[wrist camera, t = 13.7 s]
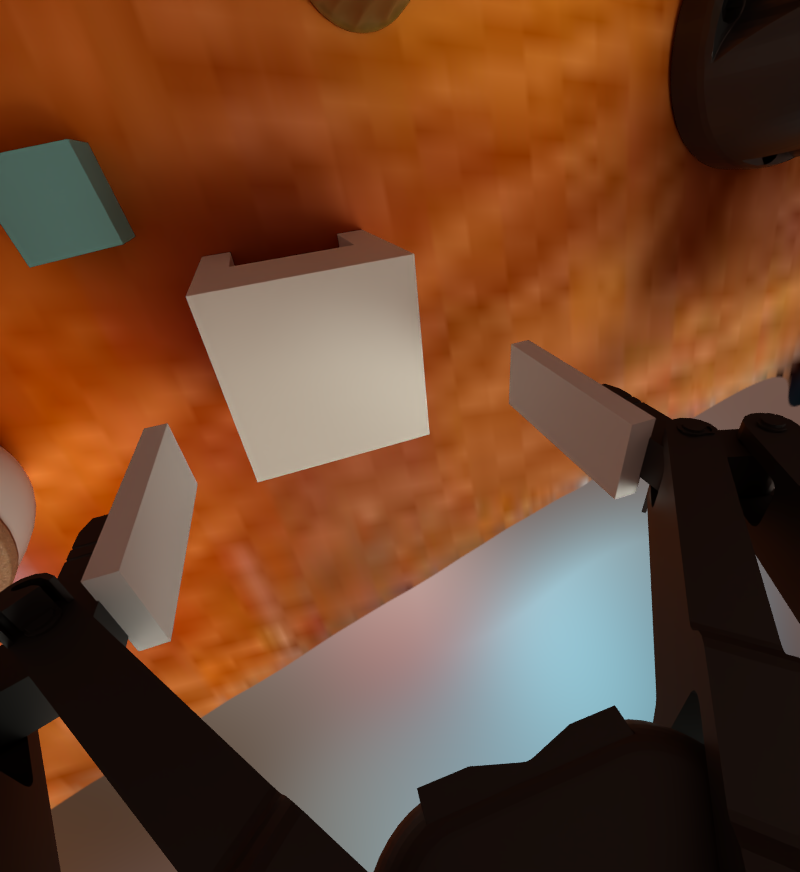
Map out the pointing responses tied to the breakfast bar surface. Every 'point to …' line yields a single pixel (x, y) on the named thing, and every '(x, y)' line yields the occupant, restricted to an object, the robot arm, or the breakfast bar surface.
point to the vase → (361, 13)
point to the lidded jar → (14, 516)
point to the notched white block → (315, 351)
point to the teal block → (58, 202)
